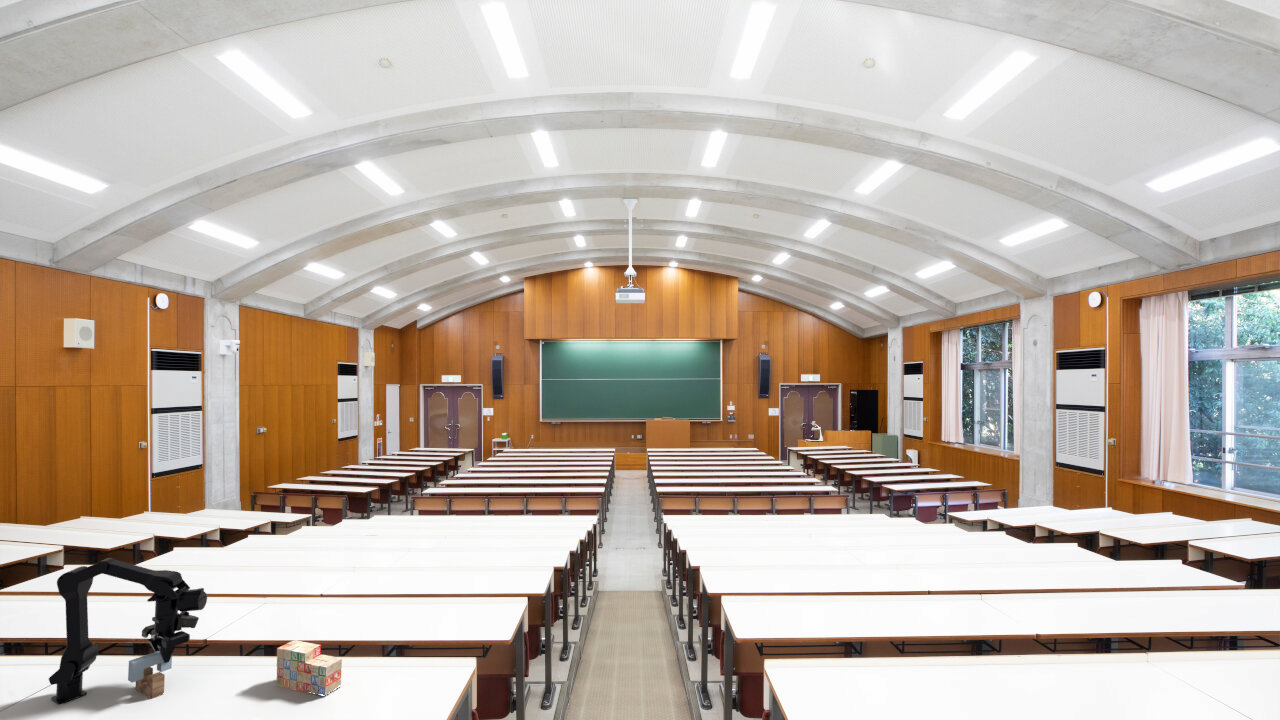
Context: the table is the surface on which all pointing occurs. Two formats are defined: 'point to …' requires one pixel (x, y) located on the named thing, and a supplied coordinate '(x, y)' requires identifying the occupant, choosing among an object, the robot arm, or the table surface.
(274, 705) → the table surface
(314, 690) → the stack of blocks
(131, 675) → the slate notched plate
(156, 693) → the walnut notched block
